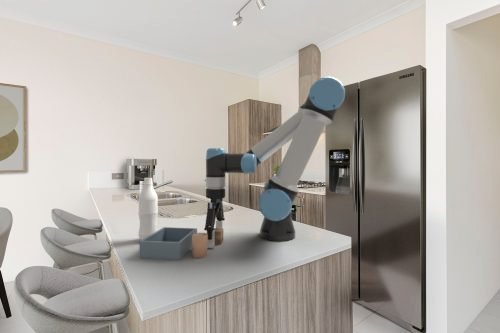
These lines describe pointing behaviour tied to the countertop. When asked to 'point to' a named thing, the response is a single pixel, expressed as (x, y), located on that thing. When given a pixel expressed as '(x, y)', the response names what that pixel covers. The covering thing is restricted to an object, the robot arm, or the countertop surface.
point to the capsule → (199, 245)
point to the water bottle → (148, 209)
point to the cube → (218, 236)
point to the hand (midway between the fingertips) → (215, 241)
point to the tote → (167, 243)
